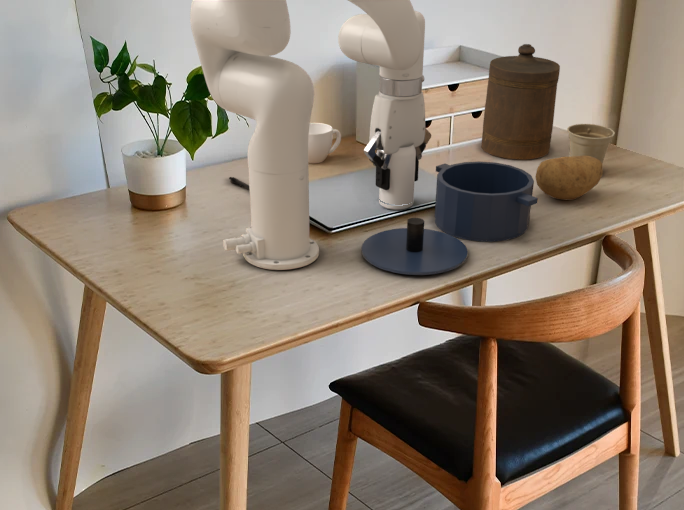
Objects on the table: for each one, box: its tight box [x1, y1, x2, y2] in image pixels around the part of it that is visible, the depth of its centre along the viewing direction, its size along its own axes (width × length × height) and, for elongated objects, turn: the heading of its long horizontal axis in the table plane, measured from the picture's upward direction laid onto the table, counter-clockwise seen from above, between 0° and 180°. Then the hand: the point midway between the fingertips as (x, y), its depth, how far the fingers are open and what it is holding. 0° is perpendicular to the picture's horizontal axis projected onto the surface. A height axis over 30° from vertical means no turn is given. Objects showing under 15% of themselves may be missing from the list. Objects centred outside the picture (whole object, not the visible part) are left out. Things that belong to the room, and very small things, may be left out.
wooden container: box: [480, 43, 561, 161], centre depth 195 cm, size 15×15×22 cm
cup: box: [308, 122, 342, 164], centre depth 192 cm, size 8×10×7 cm
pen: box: [228, 176, 250, 192], centre depth 178 cm, size 14×2×1 cm, turn 39°
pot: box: [434, 160, 539, 243], centre depth 164 cm, size 17×22×8 cm
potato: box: [535, 155, 604, 201], centre depth 175 cm, size 10×14×8 cm
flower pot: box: [566, 123, 616, 165], centre depth 187 cm, size 9×9×9 cm
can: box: [378, 143, 416, 211], centre depth 170 cm, size 6×6×12 cm
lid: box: [361, 217, 468, 276], centre depth 152 cm, size 18×18×6 cm
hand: (396, 182), depth 171 cm, fingers closed on can, 6 cm apart
